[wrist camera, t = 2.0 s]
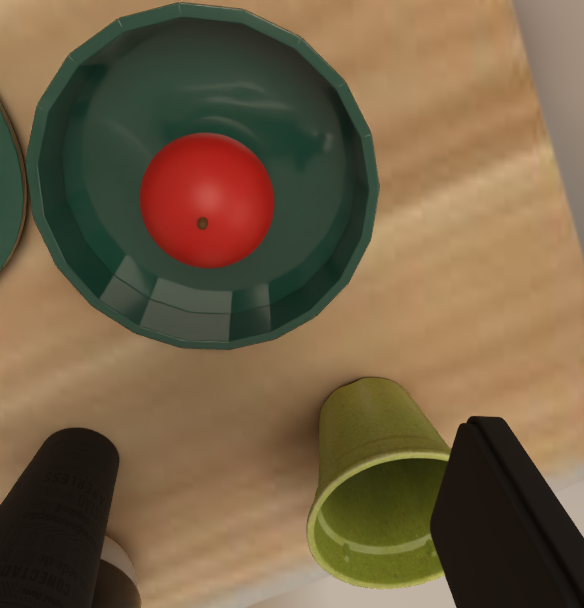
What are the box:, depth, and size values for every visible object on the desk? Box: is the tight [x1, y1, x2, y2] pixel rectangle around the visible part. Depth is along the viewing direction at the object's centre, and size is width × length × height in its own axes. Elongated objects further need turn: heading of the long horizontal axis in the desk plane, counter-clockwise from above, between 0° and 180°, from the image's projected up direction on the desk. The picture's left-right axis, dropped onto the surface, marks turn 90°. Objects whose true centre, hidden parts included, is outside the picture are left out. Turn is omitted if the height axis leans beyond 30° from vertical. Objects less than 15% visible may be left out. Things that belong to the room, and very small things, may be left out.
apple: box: [140, 133, 274, 268], centre depth 22 cm, size 6×6×6 cm
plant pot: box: [307, 377, 452, 589], centre depth 29 cm, size 9×9×9 cm
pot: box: [26, 2, 380, 350], centre depth 24 cm, size 15×15×4 cm
